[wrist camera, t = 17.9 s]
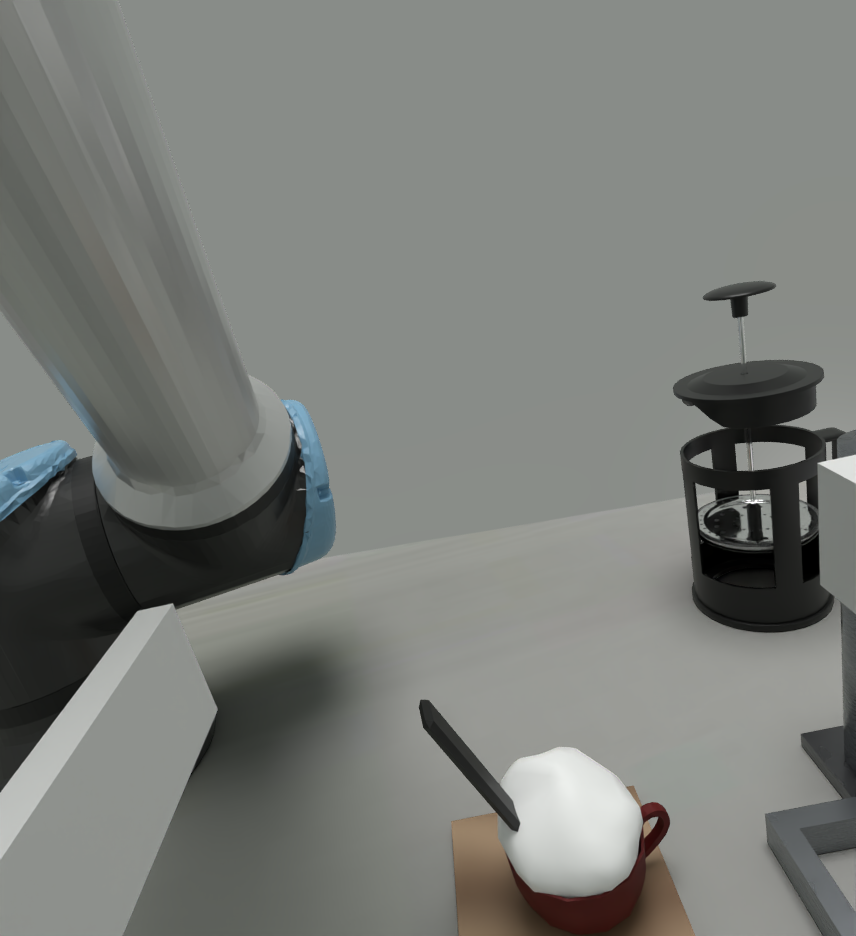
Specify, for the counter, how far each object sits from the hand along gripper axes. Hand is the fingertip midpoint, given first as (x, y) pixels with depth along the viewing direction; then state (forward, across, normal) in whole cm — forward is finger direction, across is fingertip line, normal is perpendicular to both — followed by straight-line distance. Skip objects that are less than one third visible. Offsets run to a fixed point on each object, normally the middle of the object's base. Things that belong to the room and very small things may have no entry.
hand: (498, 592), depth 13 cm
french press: (+30, +20, -23) cm, 43 cm away
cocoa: (+10, +1, -22) cm, 25 cm away
